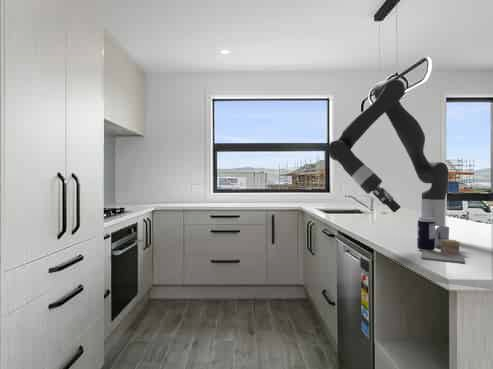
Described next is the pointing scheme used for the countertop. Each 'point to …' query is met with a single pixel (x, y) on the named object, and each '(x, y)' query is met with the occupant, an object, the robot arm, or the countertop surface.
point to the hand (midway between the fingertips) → (397, 209)
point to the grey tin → (441, 235)
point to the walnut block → (450, 246)
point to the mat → (442, 256)
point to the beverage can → (426, 234)
